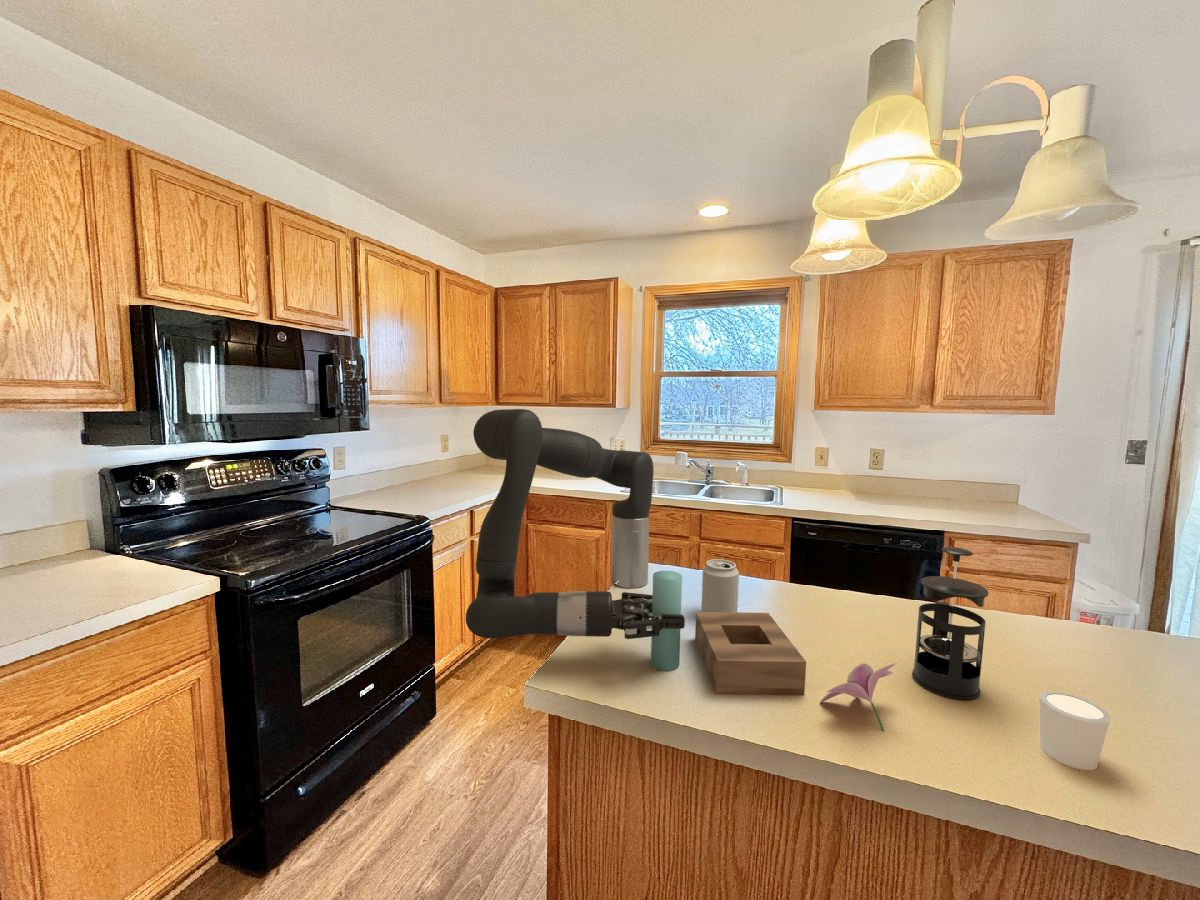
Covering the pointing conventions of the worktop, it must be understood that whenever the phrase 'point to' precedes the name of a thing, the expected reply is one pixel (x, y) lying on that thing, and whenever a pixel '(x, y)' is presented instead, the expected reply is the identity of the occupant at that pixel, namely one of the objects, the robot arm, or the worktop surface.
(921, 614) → the french press
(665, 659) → the peg
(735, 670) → the well block
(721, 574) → the can
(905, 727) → the worktop surface
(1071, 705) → the white cylinder
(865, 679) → the lily
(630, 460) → the robot arm
